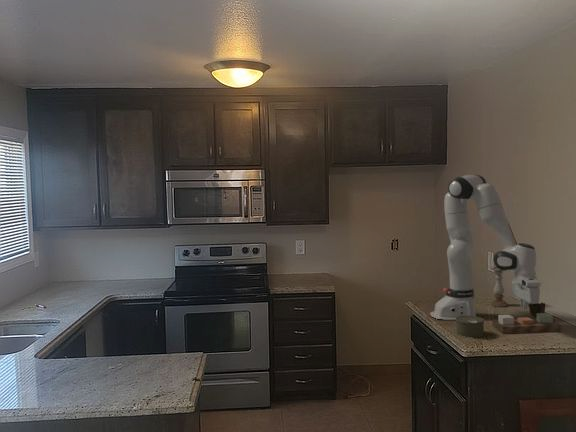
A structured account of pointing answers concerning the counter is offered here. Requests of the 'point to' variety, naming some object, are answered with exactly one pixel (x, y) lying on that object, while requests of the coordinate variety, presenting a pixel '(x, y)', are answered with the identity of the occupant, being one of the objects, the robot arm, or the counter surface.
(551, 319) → the sage button
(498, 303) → the candle holder
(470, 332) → the can
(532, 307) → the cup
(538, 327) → the walnut button board
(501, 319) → the grey button
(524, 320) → the terracotta button
